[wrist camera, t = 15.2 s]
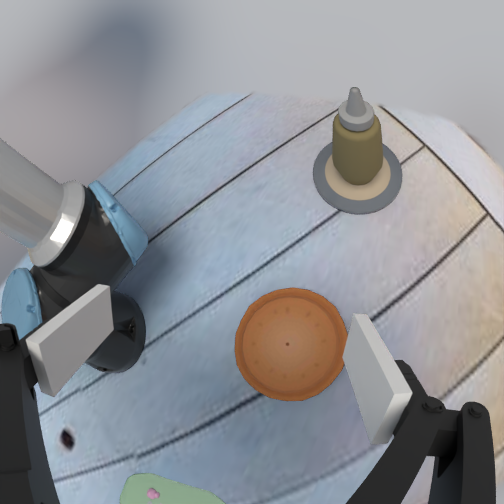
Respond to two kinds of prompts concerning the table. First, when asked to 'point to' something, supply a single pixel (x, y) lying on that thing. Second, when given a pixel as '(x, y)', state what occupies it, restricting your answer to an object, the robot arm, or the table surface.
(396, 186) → the coaster
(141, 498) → the plant
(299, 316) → the pie
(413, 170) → the table surface
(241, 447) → the table surface
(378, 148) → the squeeze bottle
